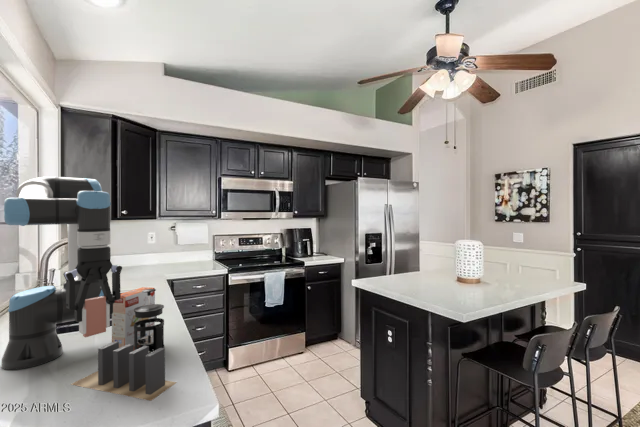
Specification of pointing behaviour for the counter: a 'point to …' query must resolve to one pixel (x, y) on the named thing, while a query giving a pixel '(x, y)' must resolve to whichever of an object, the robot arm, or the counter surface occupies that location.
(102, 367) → the domino
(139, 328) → the french press
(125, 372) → the domino
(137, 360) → the domino
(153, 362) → the domino
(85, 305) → the loose domino
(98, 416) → the counter surface
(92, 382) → the oak board
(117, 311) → the cracker box
